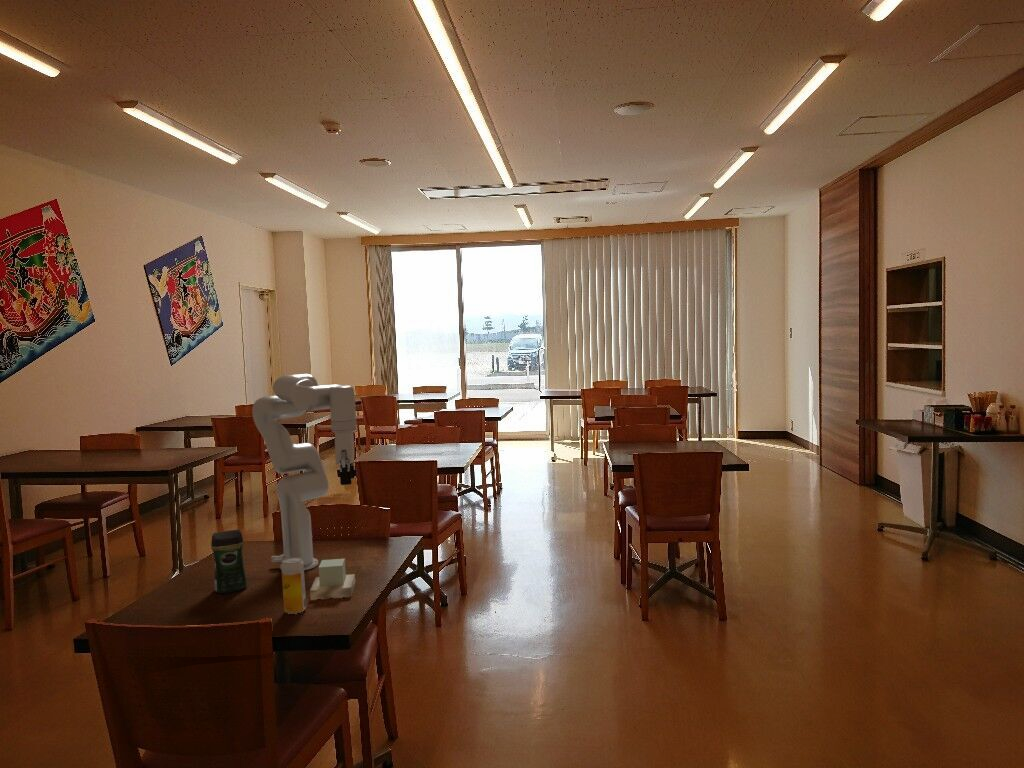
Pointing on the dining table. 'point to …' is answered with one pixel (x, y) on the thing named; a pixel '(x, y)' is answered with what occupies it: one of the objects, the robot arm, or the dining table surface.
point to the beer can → (293, 585)
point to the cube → (332, 572)
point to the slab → (333, 589)
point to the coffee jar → (228, 561)
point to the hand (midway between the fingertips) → (347, 481)
